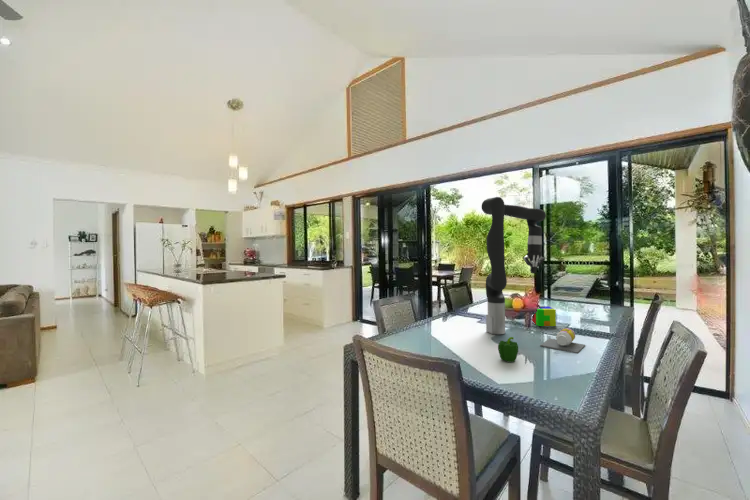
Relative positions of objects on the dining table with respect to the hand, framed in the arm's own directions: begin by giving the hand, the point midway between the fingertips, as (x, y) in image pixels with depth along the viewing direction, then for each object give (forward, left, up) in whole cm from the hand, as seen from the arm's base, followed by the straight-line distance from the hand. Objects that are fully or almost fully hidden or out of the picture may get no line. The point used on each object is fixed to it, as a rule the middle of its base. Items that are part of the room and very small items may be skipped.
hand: (533, 273), depth 198 cm
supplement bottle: (-2, -30, -28) cm, 41 cm away
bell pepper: (-45, -45, -32) cm, 71 cm away
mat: (-9, -34, -32) cm, 48 cm away
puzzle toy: (+9, +3, -32) cm, 34 cm away
